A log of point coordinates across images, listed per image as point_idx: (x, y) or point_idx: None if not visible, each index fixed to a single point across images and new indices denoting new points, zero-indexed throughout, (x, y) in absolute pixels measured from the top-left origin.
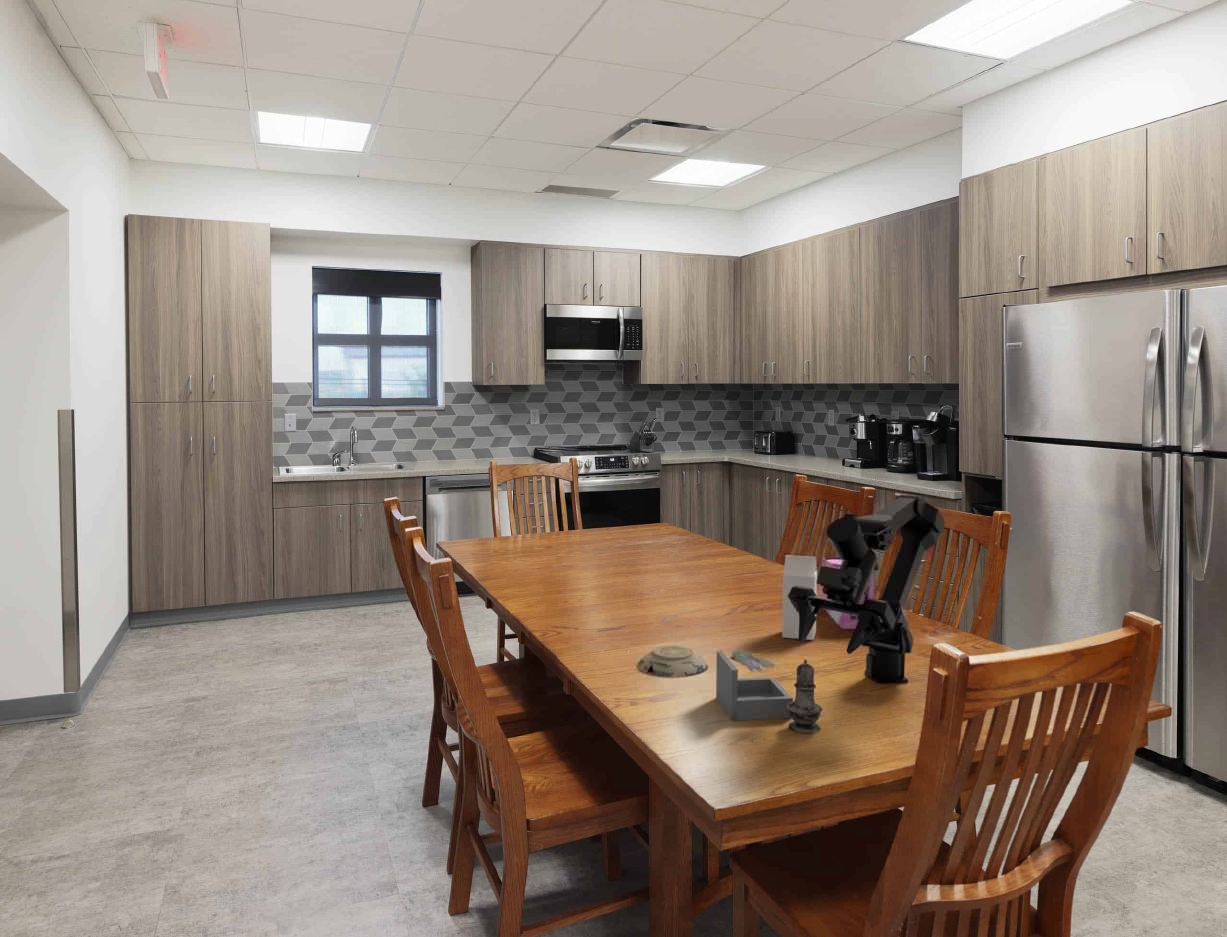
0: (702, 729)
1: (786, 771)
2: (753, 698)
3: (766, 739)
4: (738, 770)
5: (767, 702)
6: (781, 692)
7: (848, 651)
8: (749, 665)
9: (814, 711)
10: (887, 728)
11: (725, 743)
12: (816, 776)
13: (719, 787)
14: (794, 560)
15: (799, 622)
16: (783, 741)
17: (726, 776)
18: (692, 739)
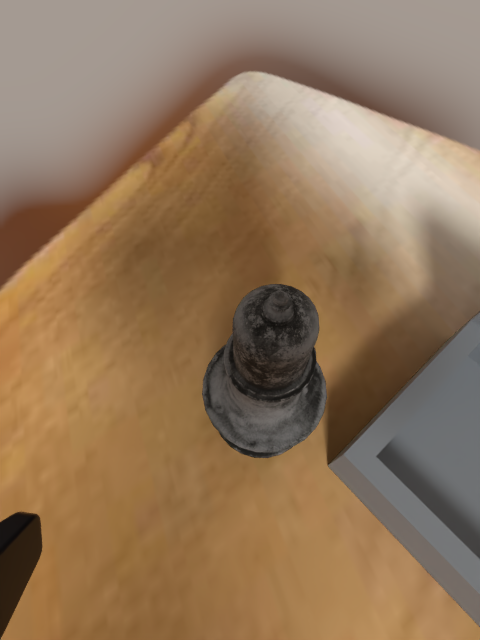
0: (461, 255)
1: (201, 184)
2: (448, 367)
3: (308, 285)
4: (279, 150)
5: (403, 390)
6: (417, 498)
7: (21, 513)
8: None
9: (218, 363)
10: None
11: (369, 223)
12: (142, 194)
13: (273, 100)
14: None
15: None
16: None
17: (284, 127)
18: (436, 205)
